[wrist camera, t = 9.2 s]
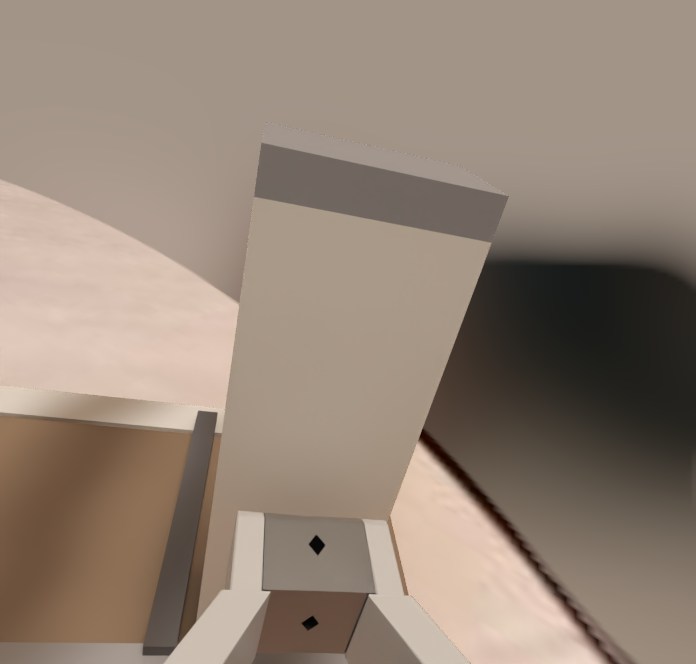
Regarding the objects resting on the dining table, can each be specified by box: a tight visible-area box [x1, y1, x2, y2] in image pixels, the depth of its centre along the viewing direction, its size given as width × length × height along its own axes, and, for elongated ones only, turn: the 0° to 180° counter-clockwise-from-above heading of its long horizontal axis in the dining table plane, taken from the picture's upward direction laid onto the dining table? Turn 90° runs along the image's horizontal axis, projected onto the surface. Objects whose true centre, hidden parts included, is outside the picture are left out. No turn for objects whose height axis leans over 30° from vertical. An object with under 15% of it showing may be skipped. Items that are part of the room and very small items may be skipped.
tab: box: [196, 122, 509, 622], centre depth 12 cm, size 4×2×13 cm, turn 97°
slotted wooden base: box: [0, 385, 409, 664], centre depth 16 cm, size 24×12×3 cm, turn 97°
